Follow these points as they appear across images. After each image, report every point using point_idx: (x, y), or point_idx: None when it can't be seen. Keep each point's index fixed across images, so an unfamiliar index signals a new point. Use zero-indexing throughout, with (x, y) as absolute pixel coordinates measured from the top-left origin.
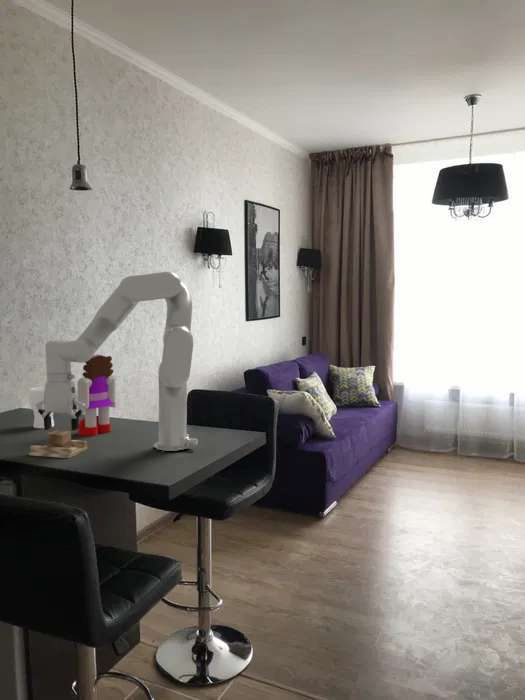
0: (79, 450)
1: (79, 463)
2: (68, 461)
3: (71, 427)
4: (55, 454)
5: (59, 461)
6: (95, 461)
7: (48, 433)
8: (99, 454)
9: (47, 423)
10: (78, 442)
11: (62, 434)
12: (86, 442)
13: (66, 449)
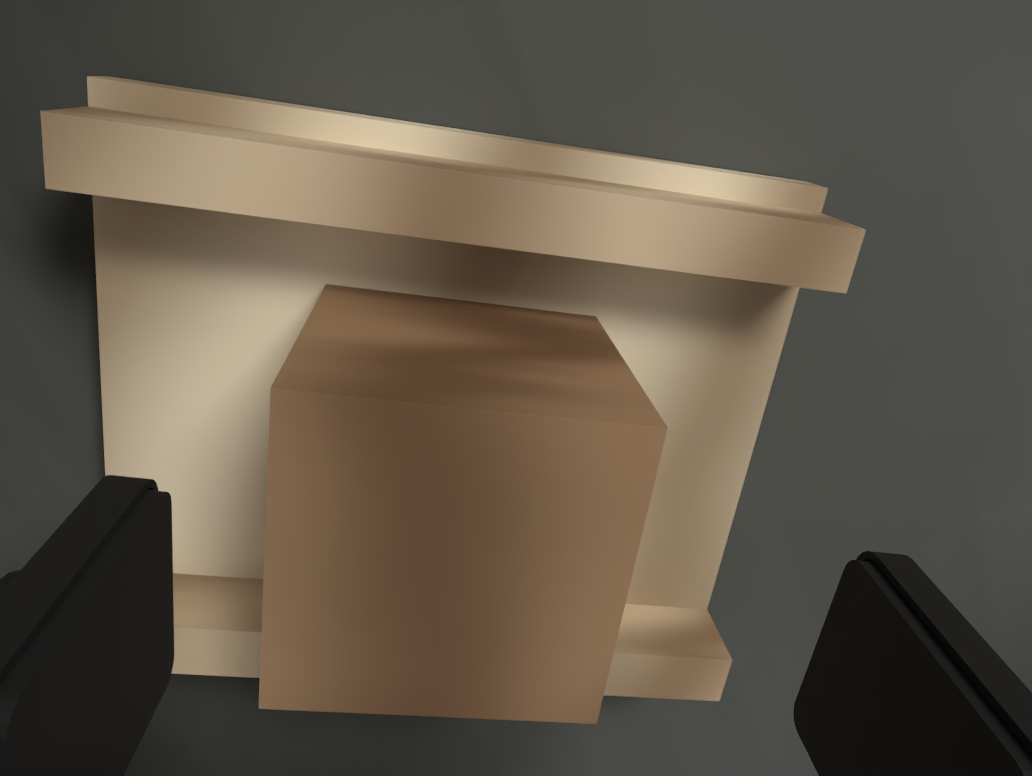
0: (755, 424)
1: None
2: (710, 731)
3: (817, 772)
4: None
5: (616, 747)
6: None
7: (274, 677)
8: (1010, 436)
9: (111, 751)
10: (722, 276)
11: (588, 697)
12: (851, 230)
13: (671, 693)
